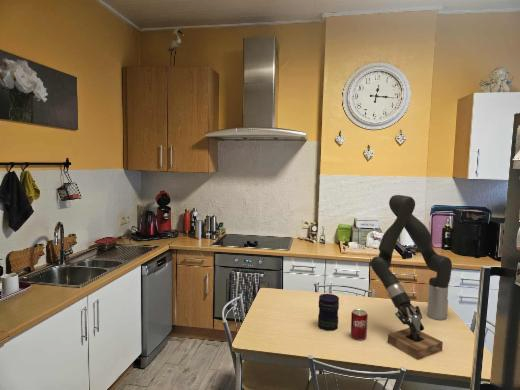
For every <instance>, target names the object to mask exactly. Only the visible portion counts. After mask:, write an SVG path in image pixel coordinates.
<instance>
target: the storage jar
mask: <svg viewBox="0 0 520 390" xmlns="http://www.w3.org/2000/svg"><path fill="white" fill-rule="evenodd" d="M339 300H340V298H339V296H338V295H336V294H332V293H321V294H319V295H318V315H317V321H318V322H317V323H318V325H317V327H318V328H319V329H321V330H322V331H326V332H333V331H336V330H338V328H339V309H340V306H339V305H340V301H339Z"/></svg>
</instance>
